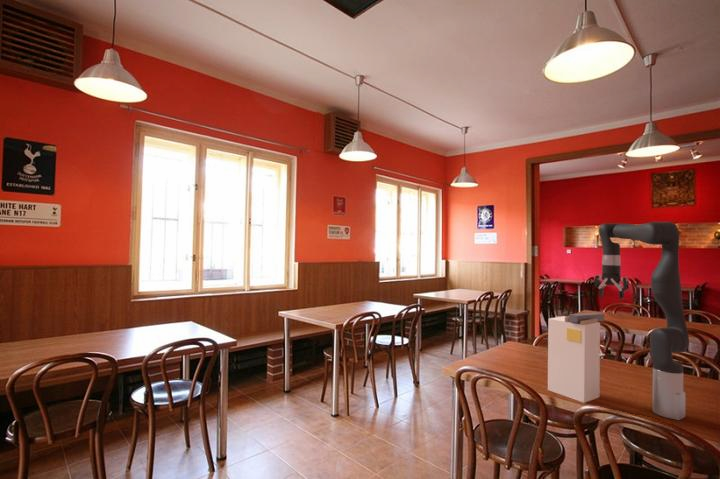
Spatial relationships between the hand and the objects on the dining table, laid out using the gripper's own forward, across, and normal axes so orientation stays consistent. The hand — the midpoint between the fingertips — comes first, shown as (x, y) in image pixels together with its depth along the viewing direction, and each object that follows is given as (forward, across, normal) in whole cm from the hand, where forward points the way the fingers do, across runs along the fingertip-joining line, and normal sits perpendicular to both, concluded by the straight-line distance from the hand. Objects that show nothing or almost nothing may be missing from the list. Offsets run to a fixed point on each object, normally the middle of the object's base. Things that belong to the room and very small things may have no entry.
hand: (611, 297), depth 184 cm
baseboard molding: (+41, +30, -27) cm, 58 cm away
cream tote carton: (+40, 0, +32) cm, 51 cm away
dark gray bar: (+8, -4, +28) cm, 29 cm away
